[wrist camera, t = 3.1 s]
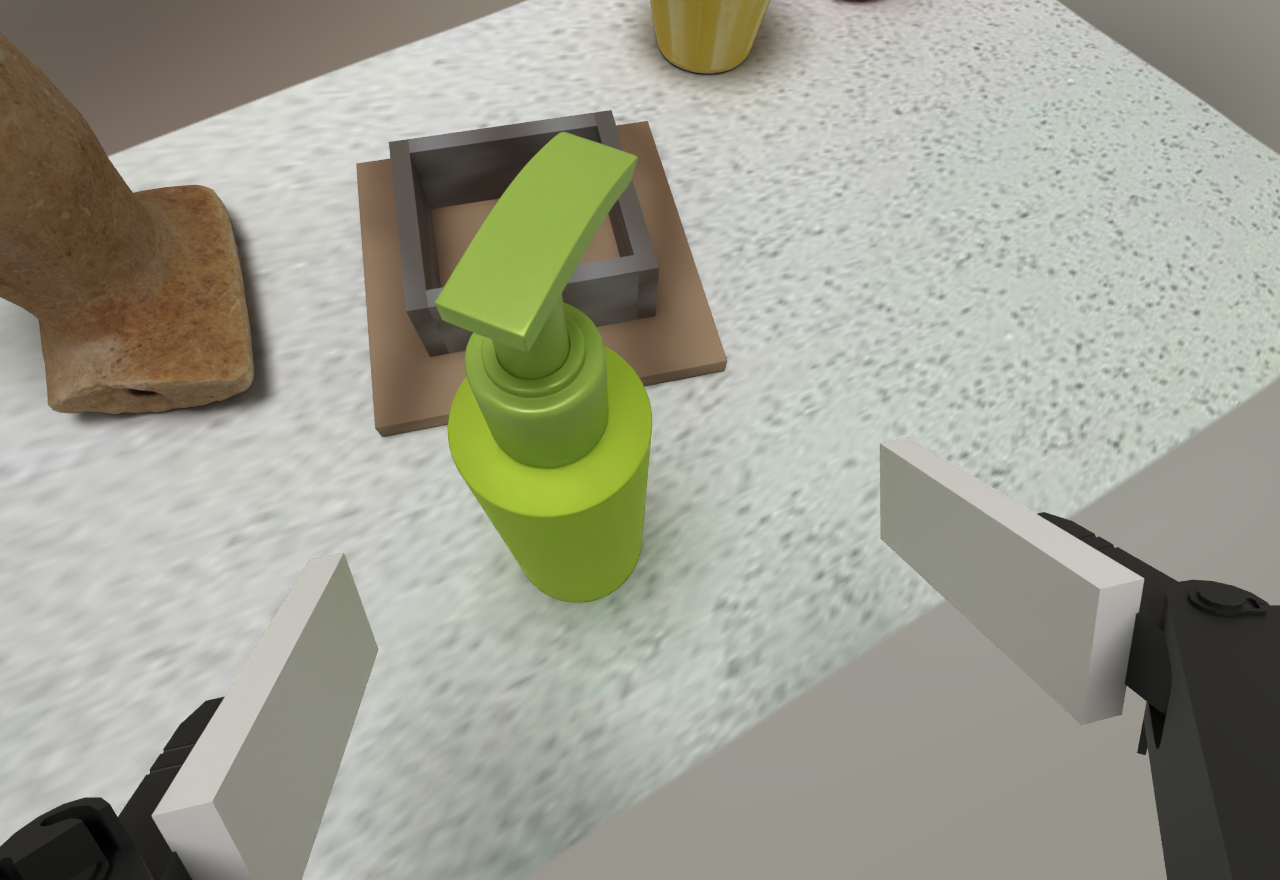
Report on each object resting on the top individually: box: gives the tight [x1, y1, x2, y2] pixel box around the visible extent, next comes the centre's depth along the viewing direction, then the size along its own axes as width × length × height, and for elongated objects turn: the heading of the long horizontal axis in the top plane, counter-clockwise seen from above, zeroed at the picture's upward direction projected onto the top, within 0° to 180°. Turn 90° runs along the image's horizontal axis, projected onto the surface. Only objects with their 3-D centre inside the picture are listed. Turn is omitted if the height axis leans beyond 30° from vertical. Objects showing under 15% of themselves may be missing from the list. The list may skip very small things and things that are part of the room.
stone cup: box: [0, 33, 254, 414], centre depth 28 cm, size 15×12×15 cm
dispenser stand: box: [356, 110, 727, 437], centre depth 35 cm, size 18×18×5 cm
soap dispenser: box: [435, 132, 652, 602], centre depth 21 cm, size 6×7×20 cm
